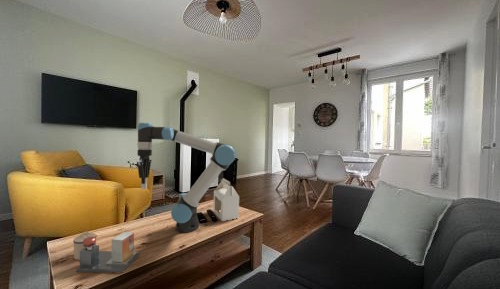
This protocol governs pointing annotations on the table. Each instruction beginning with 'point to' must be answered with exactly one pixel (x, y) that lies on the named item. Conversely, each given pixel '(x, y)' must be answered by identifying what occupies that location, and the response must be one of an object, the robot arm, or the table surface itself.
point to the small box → (122, 247)
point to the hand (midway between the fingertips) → (144, 188)
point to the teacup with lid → (81, 243)
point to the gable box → (226, 201)
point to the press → (102, 261)
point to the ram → (89, 242)
